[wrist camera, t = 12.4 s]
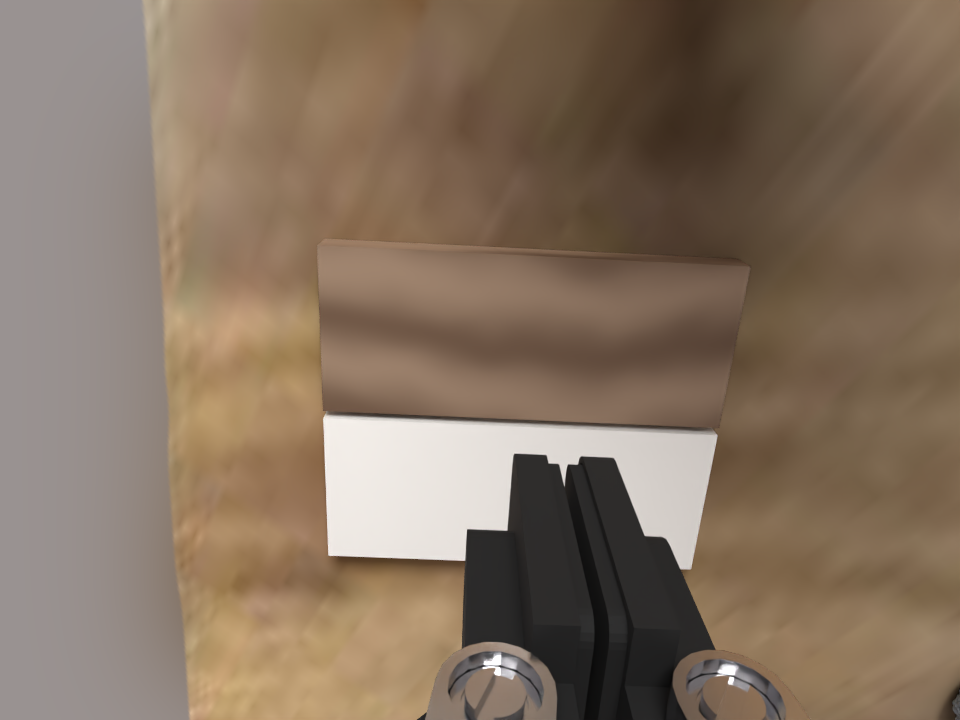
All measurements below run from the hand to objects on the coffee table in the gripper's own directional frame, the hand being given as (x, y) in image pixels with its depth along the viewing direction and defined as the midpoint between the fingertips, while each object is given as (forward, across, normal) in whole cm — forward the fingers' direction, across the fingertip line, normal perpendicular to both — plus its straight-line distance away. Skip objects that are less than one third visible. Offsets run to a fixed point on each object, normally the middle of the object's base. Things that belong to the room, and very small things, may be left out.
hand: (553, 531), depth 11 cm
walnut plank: (+29, -2, +6) cm, 30 cm away
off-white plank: (+29, -2, +16) cm, 34 cm away
